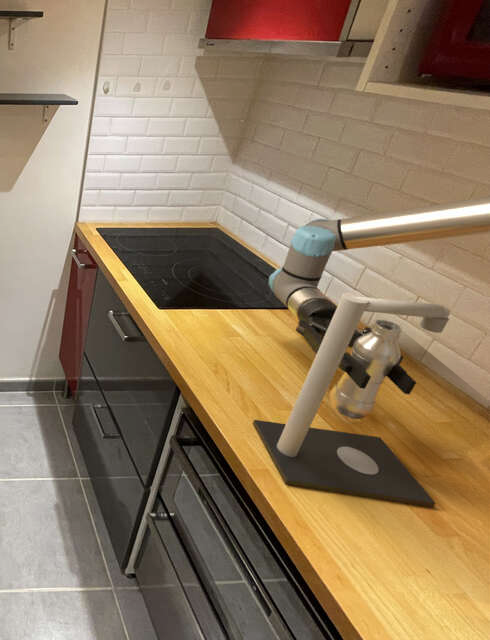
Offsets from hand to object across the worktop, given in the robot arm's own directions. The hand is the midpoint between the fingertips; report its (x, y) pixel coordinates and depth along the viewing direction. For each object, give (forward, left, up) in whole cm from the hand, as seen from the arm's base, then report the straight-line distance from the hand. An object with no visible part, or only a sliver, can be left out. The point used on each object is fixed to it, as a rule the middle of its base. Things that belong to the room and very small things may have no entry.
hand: (387, 385), depth 78 cm
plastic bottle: (0, -5, -11) cm, 12 cm away
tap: (+3, +2, -18) cm, 18 cm away
